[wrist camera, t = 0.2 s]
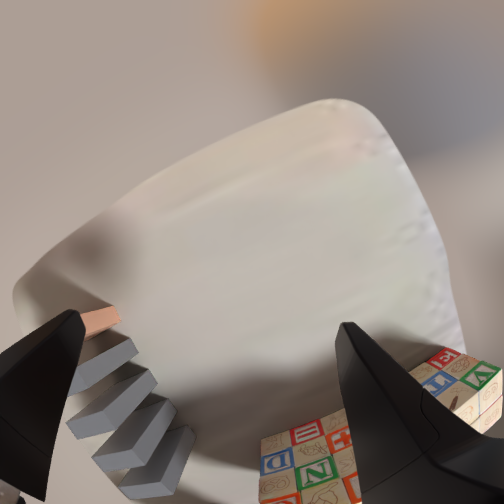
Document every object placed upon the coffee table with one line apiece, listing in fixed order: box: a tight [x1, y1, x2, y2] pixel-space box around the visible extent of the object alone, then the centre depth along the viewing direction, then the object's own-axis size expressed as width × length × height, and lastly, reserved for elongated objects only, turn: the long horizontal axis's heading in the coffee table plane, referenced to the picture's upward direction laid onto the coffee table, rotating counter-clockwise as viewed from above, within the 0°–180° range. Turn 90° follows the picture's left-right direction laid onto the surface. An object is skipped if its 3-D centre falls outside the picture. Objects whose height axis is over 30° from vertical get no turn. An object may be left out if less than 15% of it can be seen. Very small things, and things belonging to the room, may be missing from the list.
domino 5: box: [118, 425, 196, 499], centre depth 18 cm, size 2×5×9 cm, turn 119°
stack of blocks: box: [258, 347, 502, 504], centre depth 16 cm, size 21×6×12 cm, turn 114°
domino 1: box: [80, 306, 121, 342], centre depth 19 cm, size 2×5×9 cm, turn 120°
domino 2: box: [67, 338, 139, 397], centre depth 19 cm, size 2×5×9 cm, turn 120°
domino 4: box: [91, 399, 177, 472], centre depth 18 cm, size 2×5×9 cm, turn 120°
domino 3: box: [66, 369, 158, 439], centre depth 18 cm, size 2×5×9 cm, turn 119°
